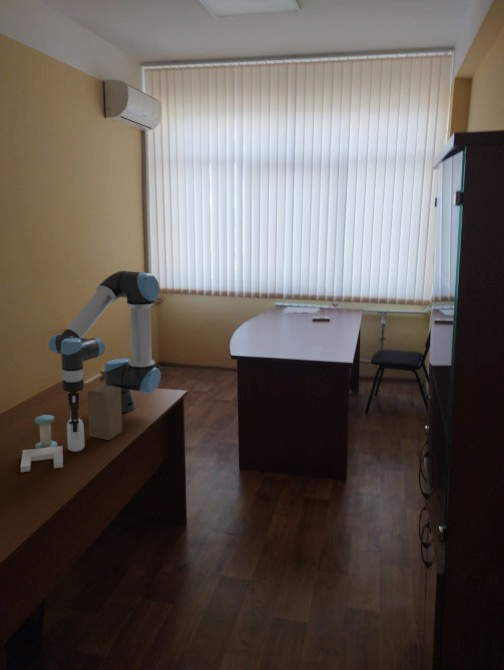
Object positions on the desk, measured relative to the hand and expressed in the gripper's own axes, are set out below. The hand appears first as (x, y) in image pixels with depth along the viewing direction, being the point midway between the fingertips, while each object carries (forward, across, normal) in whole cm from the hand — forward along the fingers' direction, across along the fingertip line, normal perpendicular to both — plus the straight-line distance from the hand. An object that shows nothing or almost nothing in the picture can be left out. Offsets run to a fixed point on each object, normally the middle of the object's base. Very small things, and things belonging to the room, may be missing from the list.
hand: (74, 432), depth 206 cm
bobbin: (+7, -5, -11) cm, 14 cm away
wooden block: (+7, -11, +12) cm, 18 cm away
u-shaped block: (+7, +7, -12) cm, 15 cm away
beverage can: (+7, 0, 0) cm, 7 cm away
